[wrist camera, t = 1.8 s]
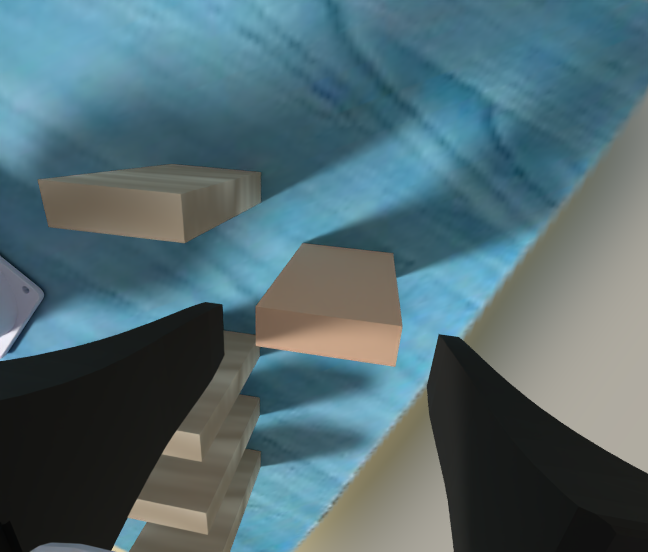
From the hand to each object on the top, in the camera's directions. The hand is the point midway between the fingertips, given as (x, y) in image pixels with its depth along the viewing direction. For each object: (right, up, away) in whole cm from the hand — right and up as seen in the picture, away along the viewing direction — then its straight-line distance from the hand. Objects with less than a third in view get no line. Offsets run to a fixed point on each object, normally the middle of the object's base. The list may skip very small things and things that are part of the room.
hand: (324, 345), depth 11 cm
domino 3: (-7, -6, +13) cm, 16 cm away
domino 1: (-6, +7, +7) cm, 12 cm away
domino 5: (+1, +3, +8) cm, 9 cm away
